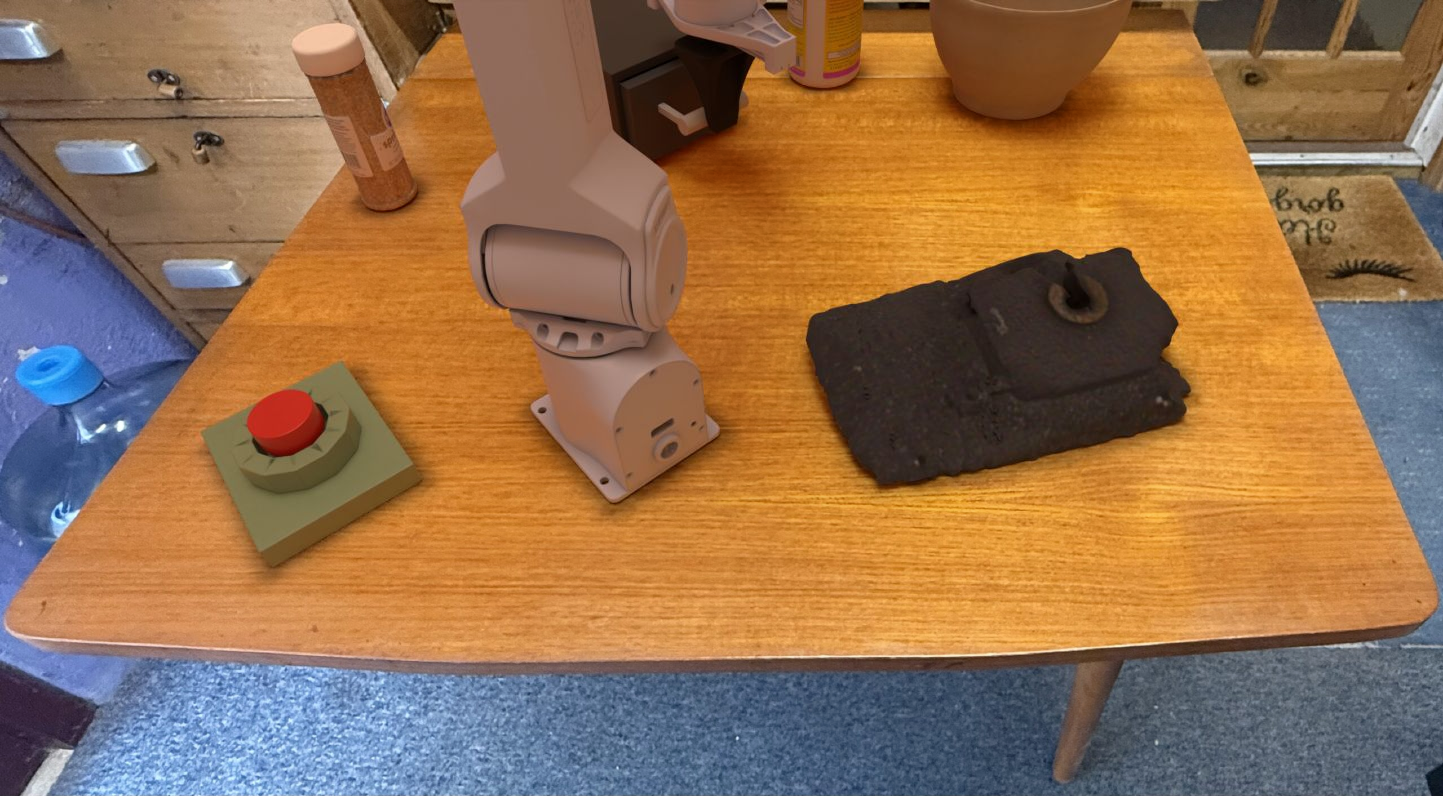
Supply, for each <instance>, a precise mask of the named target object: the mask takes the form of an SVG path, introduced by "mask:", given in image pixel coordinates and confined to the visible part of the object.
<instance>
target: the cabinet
mask: <svg viewBox="0 0 1443 796" xmlns="http://www.w3.org/2000/svg"><path fill="white" fill-rule="evenodd" d="M590 3H591V9H592V15H593V20H594V26H595V32H596V37H597V43H598V48H599V54H600V60H601V65H602V71H603V76H604V82H605V88H606V93H607V99H608V105H609V110H610V116H611V121H612V127H613V130H614V132H615V133H616V134H617V135H619V136H620V137H621V138H622V139H623V140H625V141H626V142H627V143H629V139H628V133H627V126H626V120H625V114H624V107H623V101H622V94H621V88H620V83H621V81H622V80H624V79H626V78H629V77H631V76H633V75H636V74H638V73H640V72H643V71H645V70H647V69H650V68H652V67H654V66H656V65H659V64H661V63H663V62H666V61H668V60H670V59H673V58H675V57H677V56H678V55H677V54H676V53H675V51H674V42H675V41H676V40H677V39H679V38H681V37H684V36H686V35H688V34H686V33H683V32H682V31H680V30H679V29H677V28H676V26H675V25H674V24H673V22H672V21H671V19H670V18H669V16H668V15H667V13H666V12H665V10H664V9H663V7H662V8H660V9H658V10H654V9H652V8H650V7H649V6H648V5H647V0H590ZM697 140H698V139H696V140H694V141H692V142H695V141H697ZM692 142H690V143H688V144H691V143H692ZM688 144H687V145H688ZM668 154H669V153H667V154H665V155H663V156H661V157H664V156H666V155H668ZM661 157H659V158H658V159H660V158H661Z"/></svg>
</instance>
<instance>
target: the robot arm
mask: <svg viewBox="0 0 1443 796" xmlns="http://www.w3.org/2000/svg"><path fill="white" fill-rule="evenodd" d="M451 2H452V6H453V9H454V12H455V15H456V19H457V23H458V25H459V29H460V33H461V35H462V38H463V41H464V45H465V49H466V52H467V56H468V58H469V62H470V65H471V69H472V72H473V74H474V78H475V81H476V85H477V88H478V92H479V95H480V98H481V100H482V104H483V108H484V111H485V115H486V117H487V121H488V125H489V127H490V130H491V134H492V137H493V140H494V144H495V147H496V151H495V152H493V153H492V154H491V155H490V156H488V157H487V158H486V159H485V160H484V161H483V162H482V163H481V165H480V166H478V168H477V169H475V170H476V171H475V172H474V173H473V175H472V177H471V178H470V180H469V182H468V184H467V186H466V188H465V190H464V194H463V197H462V199H461V202H460V204H459V209H460V212H461V214H462V217H463V220H464V223H465V227H466V228H465V229H466V233H467V243H468V245H467V257H468V259H467V261H468V268H469V272H470V276H471V278H472V281H473V284H474V286H475V288H476V291H477V293H478V295H479V296H480V298H481V300H483V302H484V303H485V304H486V305H488V306H489V307H491V308H494V309H497V310H498V309H499V310H508V313H509V316H510V318H511V322H512V325H513V327H514V328H516V329H520V330H523V331H524V332H527V333H528V334H529V338H530V340H531V343H532V347H533V349H534V350H533V351H534V353H535V356H536V359H537V362H538V365H539V368H540V372H541V374H542V377H543V381H544V383H545V387H546V390H547V394H545V395H543V396H542V397H540V398H539V399H536V400H534V402H532V403H531V404H530V406H529V407H530V411H531V413H532V415H533V416H534V417H535V418H536V419H537V420H538V422H539V423H540V424H541V425H542V426H543V428H544V429H545V430H546V431H547V432H548V433H549V434H550V436H551V437H552V438H553V439H554V441H556V443H557V444H558V445H559V446H560V447H561V448H562V449H563V451H564V452H565V453H566V454H567V455H568V456H569V457H570V458H571V460H572V461H573V462H574V463H575V464H576V465H577V467H578V468H579V469H580V471H582V472H583V474H584V475H585V477H587V478H588V479H589V480H590V481H591V483H592V484H593V485H594V486H595V488H597V489H598V491H599V492H600V493H601V494H602V495H603V497H605V499H606V500H607V501H608V502H609V503H612V504H614V503H620V502H621V501H622V500H624V499H625V498H627V497H628V496H630V495H631V494H633V493H635V492H636V491H637V490H639V489H640V488H642V487H644V486H645V485H646V484H648V483H649V482H651V481H653V480H654V479H656V478H657V477H659V476H660V475H662V474H664V473H665V472H666V471H667V470H669V469H671V468H672V467H675V465H676V464H678V463H680V462H681V461H683V460H684V459H686V458H687V457H689V456H690V455H692V454H694V453H695V452H697V451H698V450H700V449H701V448H702V447H704V446H705V445H707V444H709V443H710V442H711V441H713V440H714V439H716V438H717V437H718V436H719V435H720V433H721V431H720V425H719V424H718V423H717V422H716V421H715V420H714V419H713V418H712V417H711V416H709V415H708V414H707V412H706V403H705V395H704V385H703V377H702V373H701V370H700V368H699V367H698V366H697V364H696V363H695V362H694V360H693V359H692V358H690V356H689V355H687V353H685V351H684V350H683V349H682V348H681V347H680V346H679V345H678V343H677V341H676V340H675V339H674V337H673V335H672V334H671V332H670V330H669V328H668V325H667V323H668V322H669V321H671V320H672V318H673V317H674V315H675V314H676V312H677V310H678V308H679V305H680V302H681V299H682V295H683V292H684V287H685V284H686V277H687V269H688V257H689V256H688V255H689V254H688V253H689V251H688V248H689V247H688V236H687V229H686V226H685V224H684V222H683V220H682V219H681V217H680V215H679V213H678V211H677V207H676V203H675V199H674V196H673V195H674V194H673V190H672V188H671V187H670V182H669V175H668V173H667V172H666V171H665V170H664V169H663V168H662V167H660V166H659V165H658V164H656V163H655V162H654V160H653V161H651V160H650V159H649V158H647V157H646V156H645V155H643V154H642V153H641V152H639V151H638V150H637V149H635V148H634V147H633V146H631V145H630V144H629V143H627V142H626V141H625V140H623V139H622V138H621V137H620V136H619V135H617V134H616V133H615V132H614V130H613V127H612V121H611V116H610V110H609V105H608V99H607V93H606V88H605V82H604V76H603V71H602V65H601V60H600V54H599V48H598V43H597V37H596V32H595V26H594V20H593V15H592V9H591V3H590V0H451ZM766 3H767V0H647V5H648V6H649V7H650V8H652V9H654V10H658V9H660V8H662V7H663V9H664V10H665V12H666V13H667V15H668V16H669V18H670V19H671V21H672V22H673V24H674V25H675V26H676V28H677V29H679V30H680V31H682V32H683V33H686V34H688V35H686V36H684V37H681V38H679V39H677V40H676V41H675V42H674V51H675V53H676V54H677V55H678V57H679V58H680V59H681V61H682V62H683V64H684V65H685V67H686V69H687V70H688V72H689V74H690V76H691V78H692V80H693V82H694V84H695V86H696V88H697V91H698V94H699V96H700V99H701V102H702V105H703V107H704V111H705V117H706V121H707V124H708V126H709V129H710V130H712V131H713V132H712V133H714V134H716V135H718V134H719V133H721V132H723V131H726V130H728V129H730V128H732V127H733V126H737V125H738V120H739V115H740V110H739V100H740V96H741V92H742V90H743V88H744V84H745V82H746V79H747V76H748V74H749V71H750V69H751V67H752V65H753V63H754V61H755V59H758V60H759V61H762V62H763V63H764V70H765V71H767V72H768V73H770V74H772V75H776V74H778V73H781V72H784V71H785V70H788V68H789V67H791V66H794V65H795V64H796V36H794V35H792V34H790V33H789V32H787V29H785V28H783V27H782V25H781V24H780V23H779V22H778V21H777V20H776V19H775V17H774V16H773V15H772V14H771V13H770V11H768V10H767V8H766V7H765V6H764V5H766ZM604 482H607V483H606V484H603V483H604Z"/></svg>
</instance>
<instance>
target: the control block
mask: <svg viewBox="0 0 1443 796" xmlns="http://www.w3.org/2000/svg"><path fill="white" fill-rule="evenodd" d="M289 389H295V390H301V391H303V392H305V393H307V394H308V395H310V397H311V398H312V400H313V401H314V403H315V404H316V406H317V407H318V409H319V410H320V412H321V413H322V415H323V417H324V419H325V428H324V431H323V433H322V434H321V436H320V437H319V438H318V439H317V440H316V441H315V442H314V444H313V445H311V446H309V447H307V448H305V449H303V450H301V451H300V452H298V453H296V454H294V455H291V456H284V457H278V456H273V455H270V454H268V453H266V452H265V451H264V450H263V449H262V447H261V446H260V445H259V444H258V442H257V441H256V440H255V438H254V437H253V436H252V434H251V433H250V432H249V430H248V428H247V418H248V415H249V413H250V411H251V410H252V409H253V407H254V406H255V405H256V404H257V403H258V402H256V403H254V404H252V405H249V406H247V407H246V408H244V409H242V410H239V411H238V412H236V413H234V414H231V415H230V416H228V417H226V418H224V419H222V420H220V421H219V422H215V423H214V424H212V425H210V426H208V427H207V428H204V429H202V430H201V431H200V435H201V437H202V439H203V441H204V443H205V445H206V447H207V449H208V451H209V453H210V455H211V458H212V460H213V461H214V463H215V465H216V467H217V469H218V472H219V473H220V476H221V478H222V480H223V482H224V484H225V486H226V488H227V491H228V492H229V494H230V496H231V499H232V500H233V503H234V504H235V506H236V508H237V511H238V513H239V516H240V517H241V519H242V521H243V522H244V525H245V527H246V529H247V532H248V533H249V536H250V538H251V540H252V541H253V544H254V546H255V548H256V550H257V552H258V553H259V554H260V556H261V557H262V558H263V559H264V560H265V561H266V562H267V564H269V566H270V567H272V568H276V567H278V566H279V565H281V564H282V563H284V562H286V561H287V560H289V559H291V558H293V557H294V556H296V555H298V554H300V553H301V552H303V551H304V550H306V549H308V548H310V547H311V546H313V545H315V544H316V543H318V542H320V541H322V540H323V539H325V538H327V537H328V536H330V535H332V534H334V533H335V532H338V531H339V530H340V529H342V528H344V527H346V526H347V525H349V524H351V523H353V522H354V521H356V520H357V519H359V518H361V517H362V516H364V515H366V514H368V513H369V512H371V511H373V510H375V509H376V508H379V506H382V505H383V504H385V503H386V502H388V501H389V500H391V499H393V498H395V497H396V496H398V495H400V494H402V493H404V492H405V491H407V490H409V489H410V488H412V487H414V486H415V485H418V483H421V482H422V481H423V477H422V475H421V474H420V472H419V470H418V469H417V467H416V465H415V463H414V462H413V460H412V458H411V457H410V456H409V454H408V453H407V451H406V450H405V449H404V447H403V446H402V444H401V442H400V441H399V440H398V439H397V437H396V436H395V435H394V433H393V431H392V430H391V428H390V427H389V426H388V424H387V423H386V421H385V420H384V419H383V417H382V416H381V414H380V413H379V411H378V410H377V409H376V407H375V406H374V405H373V404H374V403H372V401H371V400H370V398H369V397H368V396H367V394H366V393H365V391H364V390H363V388H362V387H361V385H360V384H359V382H358V381H357V380H356V378H355V376H353V374H352V373H351V371H350V370H349V368H348V367H347V365H346V364H345V362H344V361H343V360H338V361H337V362H335V363H333V364H331V365H329V366H327V367H325V368H323V369H321V370H318V371H316V372H315V373H313V374H311V375H309V376H307V377H305V378H303V379H301V380H299V381H297V382H295V383H293V384H292V385H289V386H288V387H285V388H284V389H281V390H280V391H282V390H289Z"/></svg>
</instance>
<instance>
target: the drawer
mask: <svg viewBox="0 0 1443 796" xmlns="http://www.w3.org/2000/svg"><path fill="white" fill-rule="evenodd" d="M620 88H621V94H622V101H623V107H624V114H625V120H626V126H627V133H628V139H629V144H630V145H631V146H633V147H634V148H635V149H637V150H638V151H639V152H641V153H642V154H643V155H645V156H646V157H647V158H649V159H650V160H651V161H653V162H654V161H656V160H657V159H660V158H661V156H662V157H664V156H666V155H668V154H670V153H672V152H674V151H677V150H678V149H680V148H682V147H685V146H686V145H688V143H689V144H691V143H692V141H693V142H695V141H697V140H699V139H701V138H703V137H705V136H707V135H708V134H711V133H714V132H713V131H712V130H710V129H709V126H708V124H707V121H706V117H705V111H704V107H703V105H702V102H701V99H700V96H699V94H698V91H697V88H696V86H695V84H694V82H693V80H692V78H691V76H690V74H689V72H688V70H687V69H686V67H685V65H684V64H683V62H682V61H681V59H680V58H679V57H678V56H677V57H675V58H673V59H670V60H668V61H666V62H663V63H661V64H659V65H656V66H654V67H652V68H650V69H647V70H645V71H643V72H640V73H638V74H636V75H633V76H631V77H629V78H626V79H624V80H622V81H621V83H620ZM749 100H750V99H749V97H748V95H747V93H746V92H745V90H744V89H742V92H741V96H740V100H739V111H741V110H744V109H745V108H747V107H748V106H749ZM696 139H697V140H696ZM694 140H695V141H694ZM690 142H691V143H690ZM667 153H668V154H667ZM665 154H666V155H665ZM663 155H664V156H663ZM659 157H660V158H659Z"/></svg>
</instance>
